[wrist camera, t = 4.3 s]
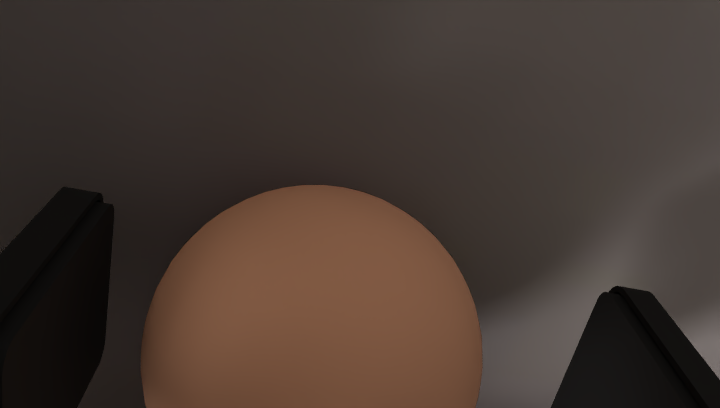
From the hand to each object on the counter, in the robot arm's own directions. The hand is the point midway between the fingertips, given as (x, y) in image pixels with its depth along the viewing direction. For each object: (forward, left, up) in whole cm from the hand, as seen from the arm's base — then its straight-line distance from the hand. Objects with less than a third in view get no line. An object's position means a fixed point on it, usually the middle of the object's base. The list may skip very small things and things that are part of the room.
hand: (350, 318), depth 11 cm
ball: (0, -1, +1) cm, 1 cm away
